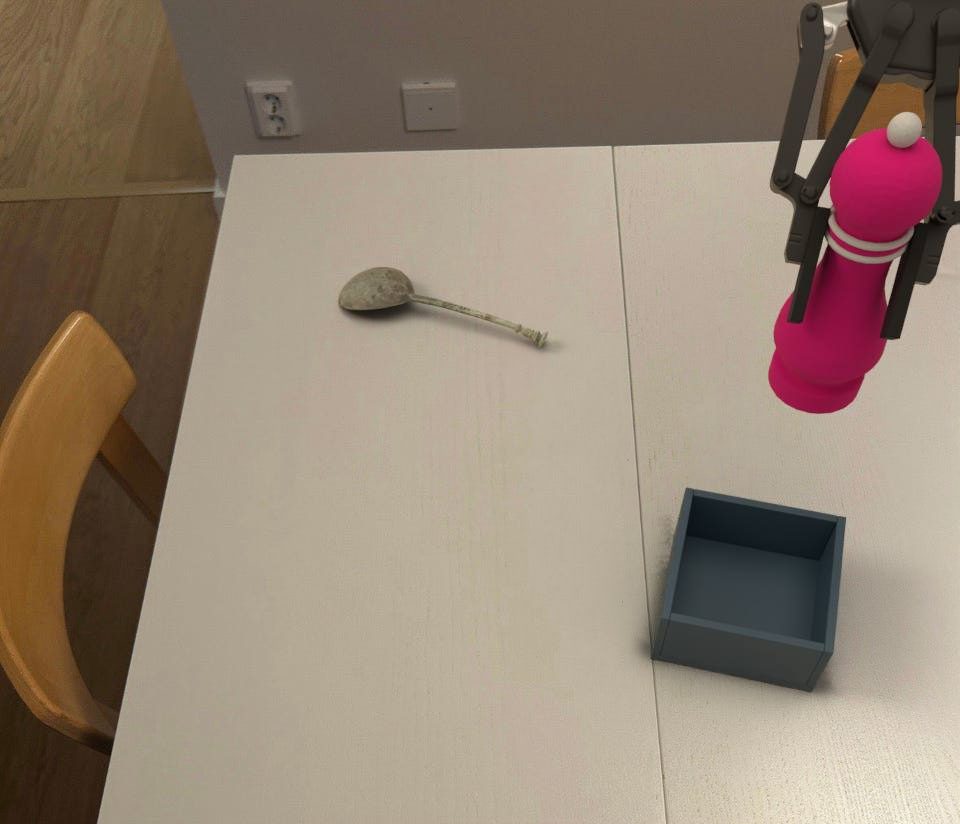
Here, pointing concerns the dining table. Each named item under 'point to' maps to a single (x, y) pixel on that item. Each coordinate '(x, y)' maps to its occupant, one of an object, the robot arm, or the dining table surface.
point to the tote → (751, 590)
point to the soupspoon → (407, 297)
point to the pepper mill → (855, 267)
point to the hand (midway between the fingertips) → (841, 329)
